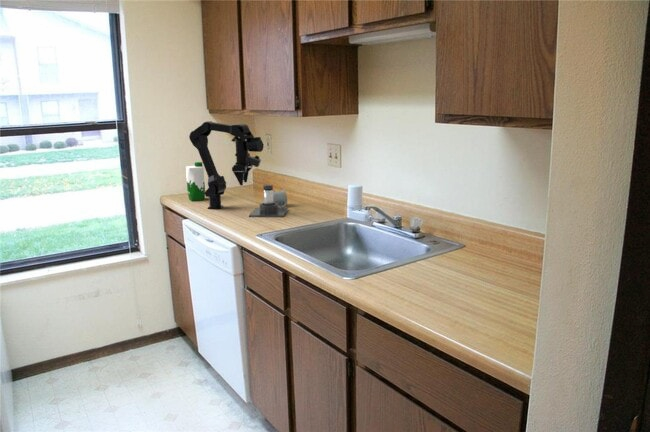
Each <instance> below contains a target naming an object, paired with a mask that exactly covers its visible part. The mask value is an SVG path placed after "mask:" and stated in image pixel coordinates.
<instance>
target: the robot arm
mask: <svg viewBox="0 0 650 432" xmlns="http://www.w3.org/2000/svg"><path fill="white" fill-rule="evenodd" d="M212 131H213V132H214V131H215V132H221V133H227V134H229V135H230V136H233V138H232V139H231V140H230V141H231V142H235V153H234V156H235V158H236V159H235V160H236V162H235V163H234V164H233V165H232V167H231V172H232V173H233V175H234V176H235V178H236V179H237V180H236V181H237V182H238V183H239V186H240V187H241V186H244V185H243V184H244V183H247V182H248V178H249V173H250V171H251V170H252V169H253V167H255V168H259V167H260V164H261V161H262V159H260V156H259V155H255V156H251V153H252V152H253V153H254V152H257V153H261V152H262V151H263V150H264V143H263V140H262V138H261V136H257V137H255V136H254V135H253V133H252V131H251V130H250V127H249V125H248V124H246V123H242V124H241V123H240V124H227V123H223V122H222V123H221V122H213V121H211V120H210V121H203V123H202V124H201V125H200V126H198V127H196V128H195V129H194V130H192V131H191V132H190V133H189V135H188V137H189V140H190V142H191V144H192V146H193V147H194V148H196V149H197V151H198V153H199V157H200V159H201V162H202V165H203V167H204V171H205V172H206V175H207V177H208V178H207V186H208V188H207V189H205V198H206V197H208V204H209V206H208V207H207V209H209V210H210V209H211V210H212V209H213V210H218V209H222V208H223V207H224V205H222V197H221V196H222V195H224V194H225V190H226V189H227V182H226V179H225V176H223V175H220V174H219V173H218V170H217V167H216V166H215V163H214V161H213V160H214V159H213V157H212V155H211V152H210V150H209V147H208V145H209V138H208V137H209V136H210V134H211V133H212ZM250 152H251V153H250Z"/></svg>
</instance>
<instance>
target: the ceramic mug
mask: <svg viewBox="0 0 650 432" xmlns="http://www.w3.org/2000/svg"><path fill="white" fill-rule="evenodd" d="M273 203H277V204H278V208H286V206H287V205H288V196H287V193H286V191H285V190H284V189H282V190H277V191H273Z"/></svg>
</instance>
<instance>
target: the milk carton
mask: <svg viewBox="0 0 650 432" xmlns="http://www.w3.org/2000/svg"><path fill="white" fill-rule="evenodd" d="M185 170H186V172H185V175H186V188H187V195H188V196H187V197H188V199H189V201H191V202H199V201H206V195H205V191H206V185H205V167H204V164H203V162H202V161H198V162H197V161H196V162H194V165H189V166H185Z"/></svg>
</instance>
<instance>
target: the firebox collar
mask: <svg viewBox="0 0 650 432" xmlns="http://www.w3.org/2000/svg"><path fill="white" fill-rule="evenodd" d="M273 204H274V205H271V206H265V205H264V202H262V203H260V204H259V207H255V209H253V210H251V212H250V213H249V215H248V217H249V218H284V217H285V215H287V213H288V211H289V208H288V207H284V208H278V204H277V203H273Z"/></svg>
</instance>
